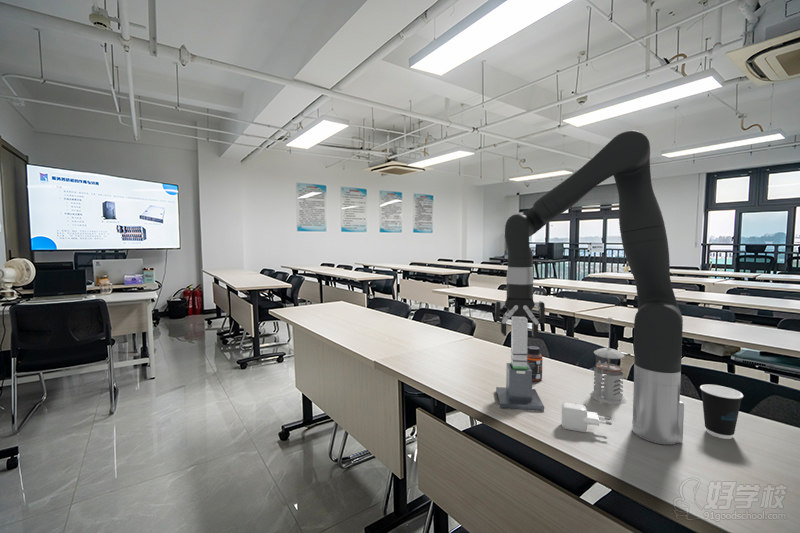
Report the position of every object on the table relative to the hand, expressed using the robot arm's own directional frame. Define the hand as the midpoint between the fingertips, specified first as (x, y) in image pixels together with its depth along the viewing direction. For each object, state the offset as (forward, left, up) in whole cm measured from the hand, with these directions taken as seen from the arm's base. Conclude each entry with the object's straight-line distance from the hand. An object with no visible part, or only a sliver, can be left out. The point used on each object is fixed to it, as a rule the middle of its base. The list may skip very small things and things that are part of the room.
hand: (519, 335), depth 106 cm
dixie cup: (-46, +12, -20) cm, 52 cm away
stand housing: (0, 0, -20) cm, 20 cm away
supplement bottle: (-8, -19, -20) cm, 29 cm away
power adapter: (-14, +15, -20) cm, 29 cm away
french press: (-27, -6, -20) cm, 34 cm away
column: (0, 0, -12) cm, 12 cm away
